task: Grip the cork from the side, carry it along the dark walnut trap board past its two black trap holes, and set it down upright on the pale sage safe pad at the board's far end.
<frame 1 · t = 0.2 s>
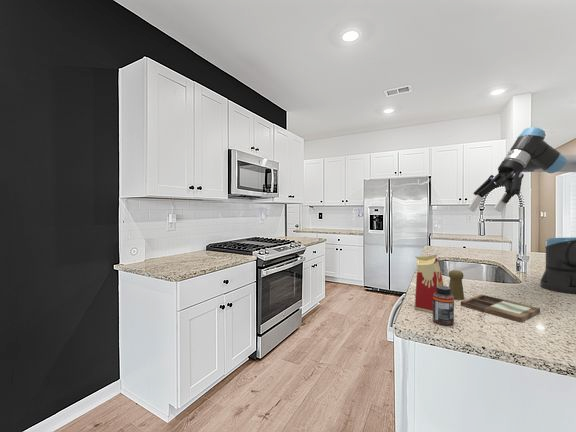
hand: (483, 210, 111), 36 cm above the worktop, tool tilted 35°, fingers open, 13 cm apart
supplement bottle: (443, 322, 92), on the worktop
cork: (455, 298, 116), on the worktop
trap board: (499, 308, 104), on the worktop
milk carton: (428, 308, 105), on the worktop
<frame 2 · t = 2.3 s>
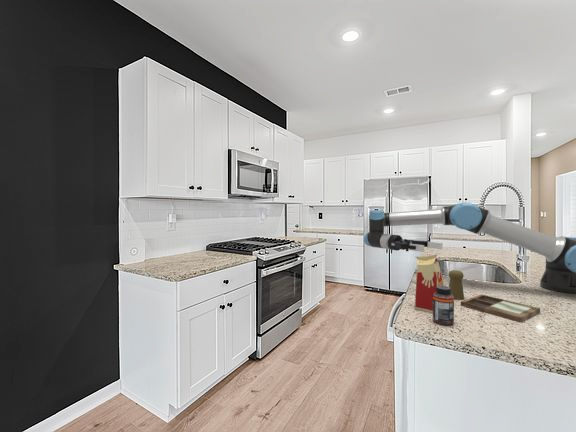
hand: (433, 247, 124), 19 cm above the worktop, tool horizontal, fingers open, 13 cm apart
nothing on the worktop moved.
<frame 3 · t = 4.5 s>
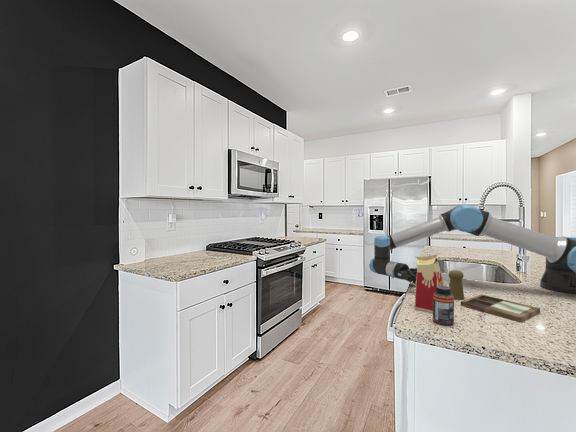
hand: (441, 279, 121), 6 cm above the worktop, tool horizontal, fingers open, 13 cm apart
nothing on the worktop moved.
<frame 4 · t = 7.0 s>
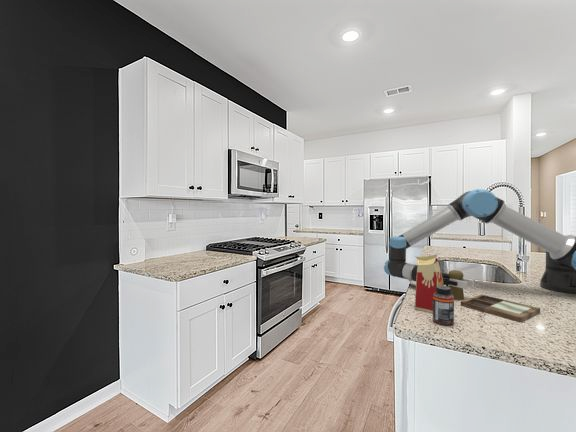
hand: (470, 284, 112), 7 cm above the worktop, tool horizontal, fingers closed on cork, 4 cm apart
cork: (455, 298, 116), on the worktop, touching gripper
everything else where it was.
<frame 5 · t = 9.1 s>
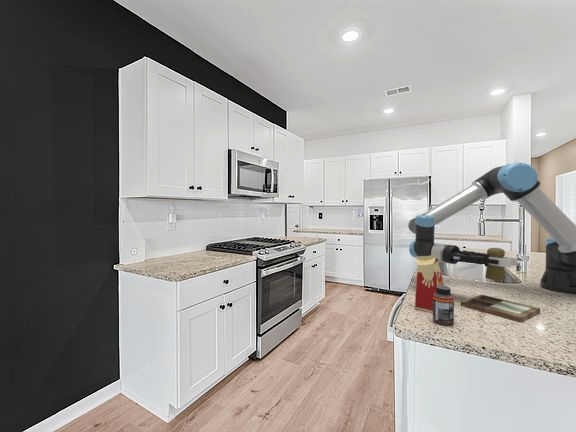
hand: (513, 262, 99), 18 cm above the worktop, tool horizontal, fingers closed on cork, 4 cm apart
cork: (495, 279, 104), point 11 cm above the worktop, touching gripper
everything else where it was.
when the fingers open (10 cm above the worktop, at t = 11.3 s): cork drops 1 cm, resting on trap board.
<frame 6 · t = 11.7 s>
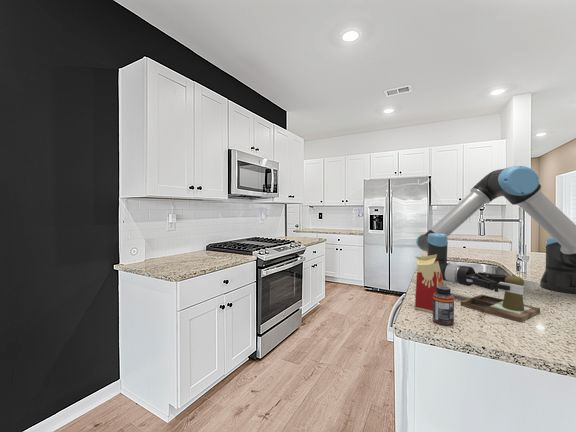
hand: (529, 288, 96), 10 cm above the worktop, tool horizontal, fingers open, 10 cm apart
cork: (512, 308, 100), point 2 cm above the worktop, touching trap board
everything else where it was.
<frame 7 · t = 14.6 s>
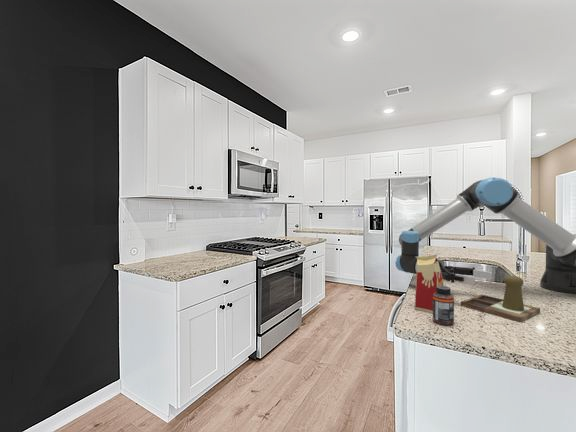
hand: (483, 278, 108), 10 cm above the worktop, tool horizontal, fingers open, 13 cm apart
nothing on the worktop moved.
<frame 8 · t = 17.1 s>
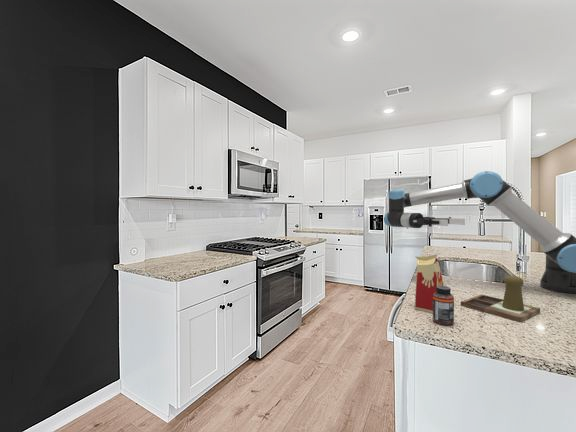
hand: (456, 222, 126), 30 cm above the worktop, tool horizontal, fingers open, 13 cm apart
nothing on the worktop moved.
at the end: cork inside the target area (0.6 cm from its centre), point 1.5 cm above the worktop; cork tilted 0°; the gripper is holding nothing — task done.
